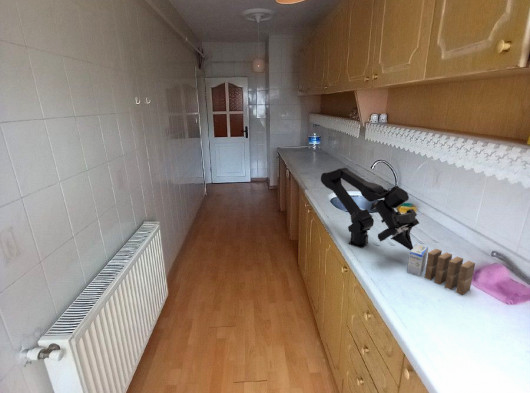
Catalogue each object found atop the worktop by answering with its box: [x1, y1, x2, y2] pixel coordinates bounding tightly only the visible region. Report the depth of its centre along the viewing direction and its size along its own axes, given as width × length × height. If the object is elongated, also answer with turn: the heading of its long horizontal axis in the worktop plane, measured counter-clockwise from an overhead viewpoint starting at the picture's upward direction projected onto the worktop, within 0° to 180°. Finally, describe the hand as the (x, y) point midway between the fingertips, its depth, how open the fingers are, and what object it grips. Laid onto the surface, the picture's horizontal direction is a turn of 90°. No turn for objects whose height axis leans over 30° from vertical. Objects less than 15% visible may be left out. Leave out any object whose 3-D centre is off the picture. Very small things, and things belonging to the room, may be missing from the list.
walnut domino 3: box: [444, 256, 464, 291], centre depth 99 cm, size 2×5×10 cm, turn 123°
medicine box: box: [407, 243, 429, 277], centre depth 109 cm, size 8×4×9 cm, turn 141°
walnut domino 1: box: [424, 248, 443, 281], centre depth 104 cm, size 2×5×10 cm, turn 123°
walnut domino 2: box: [434, 252, 453, 286], centre depth 102 cm, size 2×5×10 cm, turn 123°
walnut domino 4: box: [455, 260, 476, 296], centre depth 96 cm, size 2×5×10 cm, turn 123°
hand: (411, 249), depth 110 cm, fingers closed
